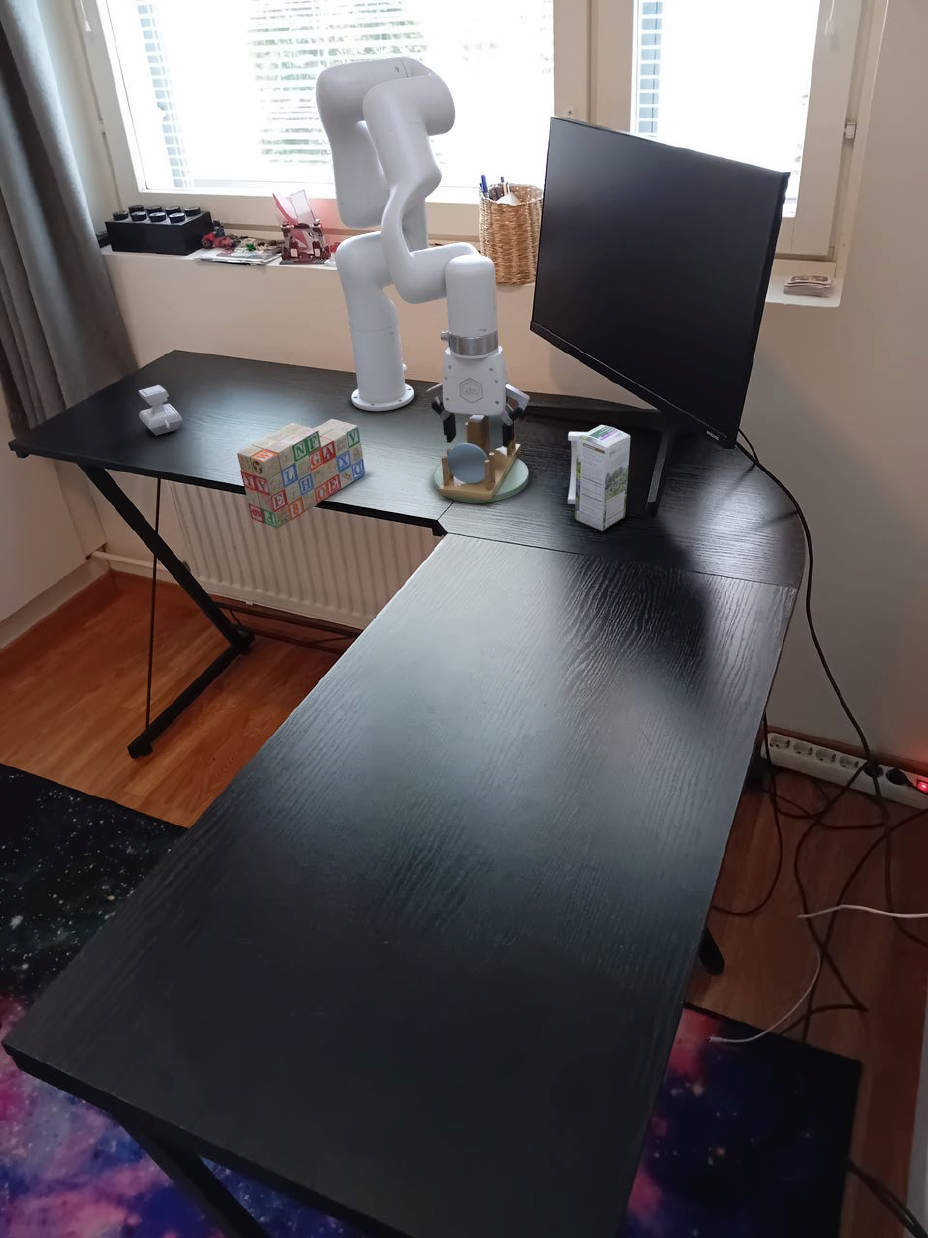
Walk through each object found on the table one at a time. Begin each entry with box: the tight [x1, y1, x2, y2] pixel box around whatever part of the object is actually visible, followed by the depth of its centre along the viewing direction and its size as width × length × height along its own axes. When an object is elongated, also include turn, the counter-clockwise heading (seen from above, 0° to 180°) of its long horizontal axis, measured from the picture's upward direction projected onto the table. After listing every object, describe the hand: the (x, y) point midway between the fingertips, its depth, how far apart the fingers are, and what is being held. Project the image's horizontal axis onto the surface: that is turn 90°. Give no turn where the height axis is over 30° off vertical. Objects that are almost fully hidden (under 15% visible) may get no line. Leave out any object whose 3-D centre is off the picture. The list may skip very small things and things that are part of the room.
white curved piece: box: [567, 431, 588, 505], centre depth 150 cm, size 5×6×12 cm
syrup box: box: [574, 424, 631, 532], centre depth 143 cm, size 6×6×14 cm
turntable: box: [433, 457, 530, 504], centre depth 160 cm, size 16×16×1 cm
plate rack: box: [437, 415, 522, 500], centre depth 156 cm, size 18×9×10 cm, turn 162°
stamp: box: [138, 384, 183, 436], centre depth 182 cm, size 9×7×8 cm
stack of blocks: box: [236, 418, 366, 529], centre depth 155 cm, size 21×6×12 cm, turn 143°
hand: (479, 441), depth 156 cm, fingers open, 9 cm apart
